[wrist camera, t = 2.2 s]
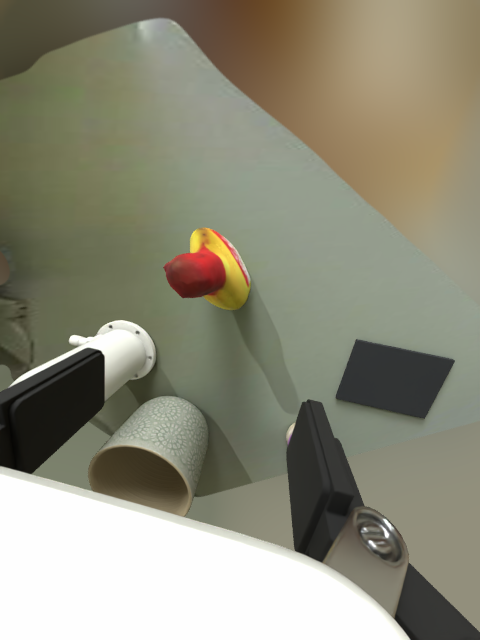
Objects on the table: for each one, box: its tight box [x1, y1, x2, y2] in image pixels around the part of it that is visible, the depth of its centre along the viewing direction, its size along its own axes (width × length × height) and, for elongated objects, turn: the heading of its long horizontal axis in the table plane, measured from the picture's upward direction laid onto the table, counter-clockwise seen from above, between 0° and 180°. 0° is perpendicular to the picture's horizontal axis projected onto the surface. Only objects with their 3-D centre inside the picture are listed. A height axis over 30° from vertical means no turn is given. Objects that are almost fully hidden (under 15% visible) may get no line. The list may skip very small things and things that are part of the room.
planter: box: [88, 396, 209, 517], centre depth 42 cm, size 17×17×15 cm
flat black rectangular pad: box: [336, 339, 455, 419], centre depth 40 cm, size 16×12×1 cm
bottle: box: [163, 228, 251, 310], centre depth 29 cm, size 12×6×20 cm, turn 21°
